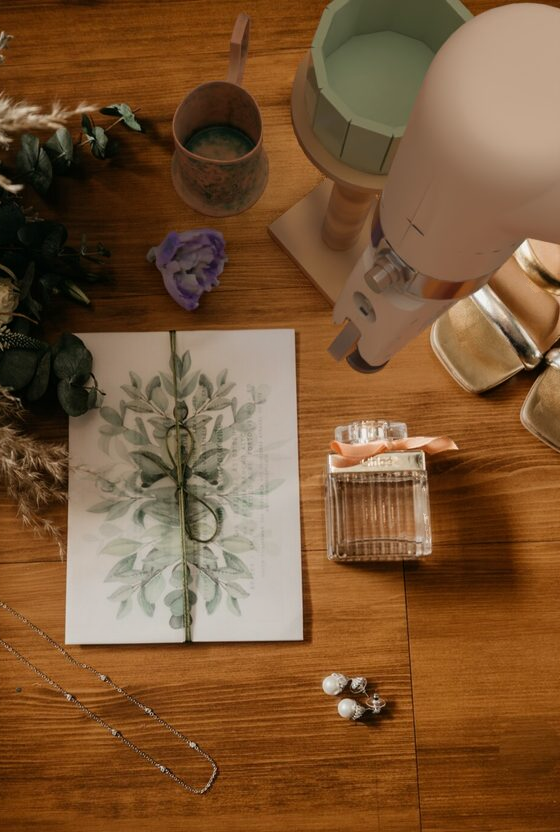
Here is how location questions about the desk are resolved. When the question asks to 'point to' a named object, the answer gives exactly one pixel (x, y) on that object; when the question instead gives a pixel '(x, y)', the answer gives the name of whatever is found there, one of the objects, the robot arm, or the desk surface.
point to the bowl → (373, 73)
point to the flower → (190, 263)
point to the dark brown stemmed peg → (362, 364)
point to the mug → (221, 140)
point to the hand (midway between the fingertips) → (381, 329)
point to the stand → (326, 209)
